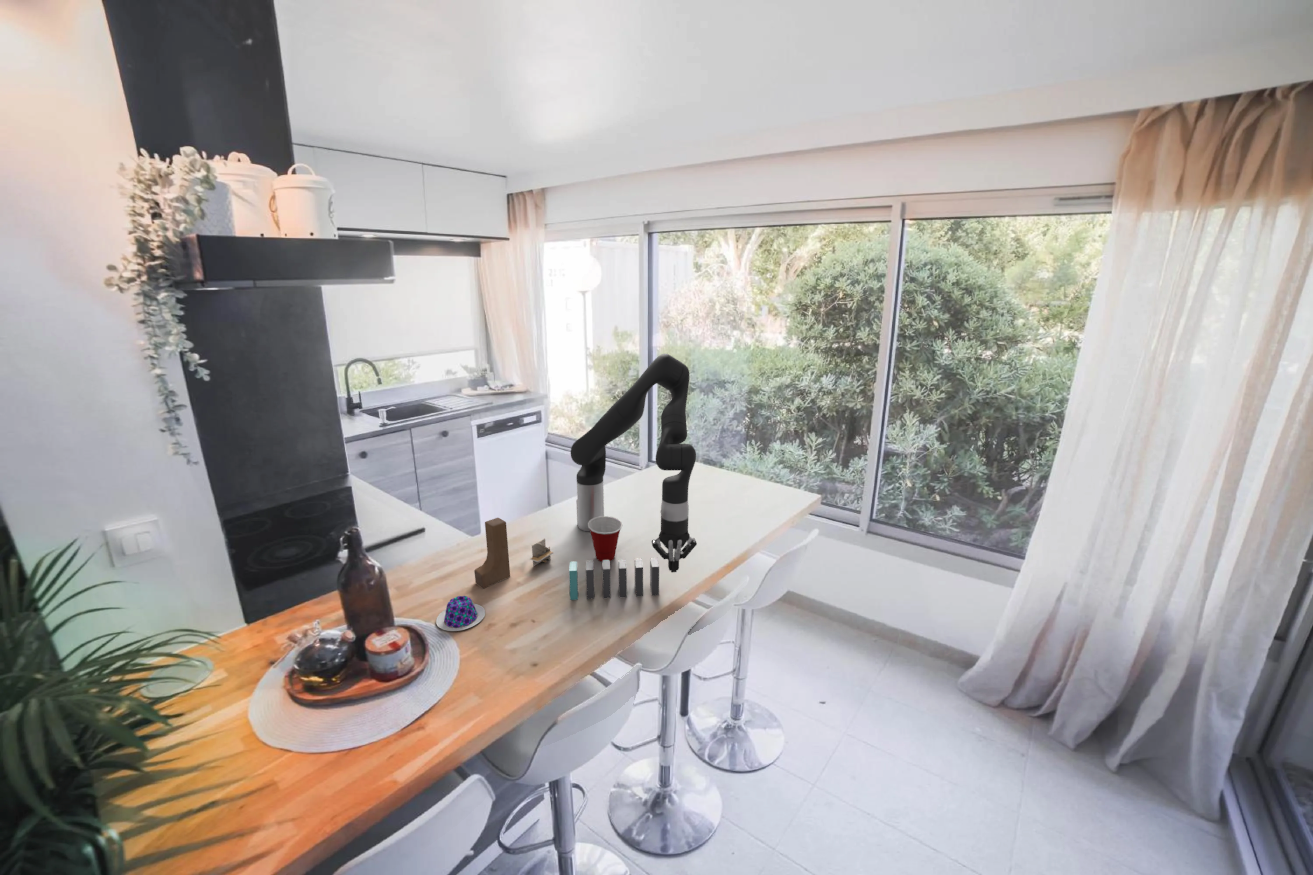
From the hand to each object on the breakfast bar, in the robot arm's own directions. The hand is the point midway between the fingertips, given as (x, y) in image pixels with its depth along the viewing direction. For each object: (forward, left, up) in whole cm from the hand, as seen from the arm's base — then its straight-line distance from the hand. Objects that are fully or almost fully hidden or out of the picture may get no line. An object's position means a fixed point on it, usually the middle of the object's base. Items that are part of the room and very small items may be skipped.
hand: (673, 570), depth 150 cm
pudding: (-25, -51, -6) cm, 58 cm away
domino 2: (-13, -19, -6) cm, 24 cm away
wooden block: (-37, -37, -6) cm, 53 cm away
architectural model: (-37, -22, -7) cm, 43 cm away
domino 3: (-10, -16, -6) cm, 20 cm away
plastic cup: (-27, -4, -6) cm, 28 cm away
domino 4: (-8, -12, -6) cm, 16 cm away
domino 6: (-3, -4, -6) cm, 8 cm away
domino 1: (-16, -23, -6) cm, 29 cm away
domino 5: (-5, -8, -6) cm, 11 cm away
